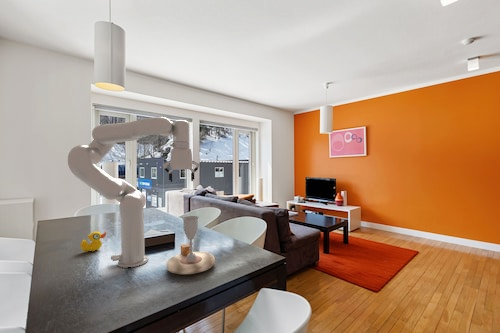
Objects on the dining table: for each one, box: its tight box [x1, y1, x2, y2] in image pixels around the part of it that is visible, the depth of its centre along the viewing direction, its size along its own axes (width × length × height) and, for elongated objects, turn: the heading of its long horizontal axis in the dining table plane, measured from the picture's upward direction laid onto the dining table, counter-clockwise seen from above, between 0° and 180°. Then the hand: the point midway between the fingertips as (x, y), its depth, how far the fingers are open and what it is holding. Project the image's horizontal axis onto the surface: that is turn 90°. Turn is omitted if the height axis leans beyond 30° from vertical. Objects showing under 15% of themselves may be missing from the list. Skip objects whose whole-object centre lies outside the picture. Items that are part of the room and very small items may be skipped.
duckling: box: [80, 231, 107, 253], centre depth 126 cm, size 11×5×10 cm, turn 126°
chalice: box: [182, 215, 199, 262], centre depth 103 cm, size 7×7×18 cm
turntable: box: [166, 243, 216, 275], centre depth 103 cm, size 20×20×6 cm
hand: (181, 181), depth 116 cm, fingers open, 9 cm apart
